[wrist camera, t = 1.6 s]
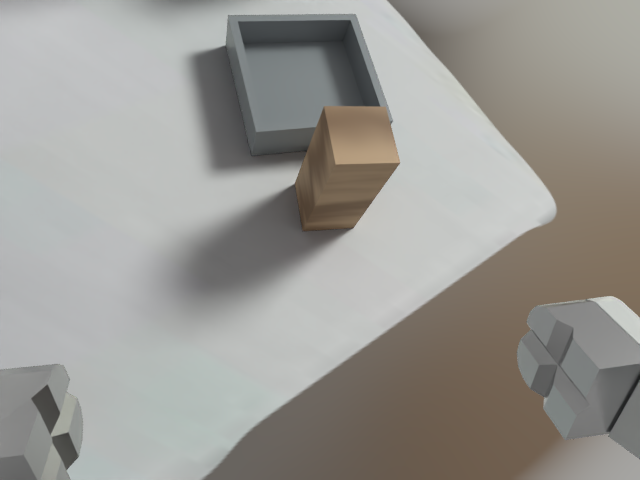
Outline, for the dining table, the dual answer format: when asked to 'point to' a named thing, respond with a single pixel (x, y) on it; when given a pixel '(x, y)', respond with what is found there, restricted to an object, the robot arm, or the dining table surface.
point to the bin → (297, 74)
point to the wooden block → (345, 166)
